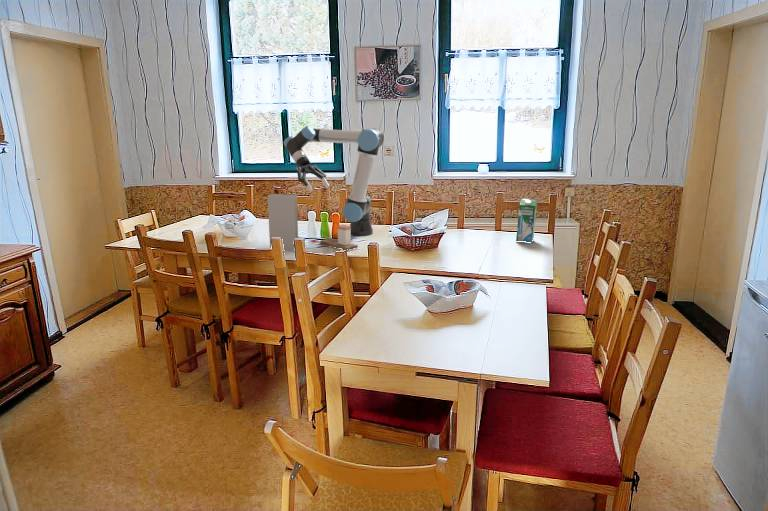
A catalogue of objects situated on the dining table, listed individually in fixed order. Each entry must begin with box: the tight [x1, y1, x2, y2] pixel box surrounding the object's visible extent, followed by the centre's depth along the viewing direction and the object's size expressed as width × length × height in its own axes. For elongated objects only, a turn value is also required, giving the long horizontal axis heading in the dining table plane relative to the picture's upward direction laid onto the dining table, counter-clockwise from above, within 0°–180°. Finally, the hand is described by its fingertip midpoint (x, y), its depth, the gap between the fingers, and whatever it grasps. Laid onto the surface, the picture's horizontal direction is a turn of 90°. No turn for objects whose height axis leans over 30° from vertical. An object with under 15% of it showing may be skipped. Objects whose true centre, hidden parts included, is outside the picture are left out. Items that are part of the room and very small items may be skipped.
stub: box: [337, 224, 352, 245], centre depth 281 cm, size 4×6×10 cm
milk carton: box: [515, 198, 538, 243], centre depth 301 cm, size 9×9×25 cm
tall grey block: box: [267, 193, 299, 253], centre depth 273 cm, size 14×6×30 cm, turn 84°
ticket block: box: [319, 237, 359, 251], centre depth 286 cm, size 8×22×2 cm, turn 49°
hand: (319, 188), depth 291 cm, fingers open, 13 cm apart
